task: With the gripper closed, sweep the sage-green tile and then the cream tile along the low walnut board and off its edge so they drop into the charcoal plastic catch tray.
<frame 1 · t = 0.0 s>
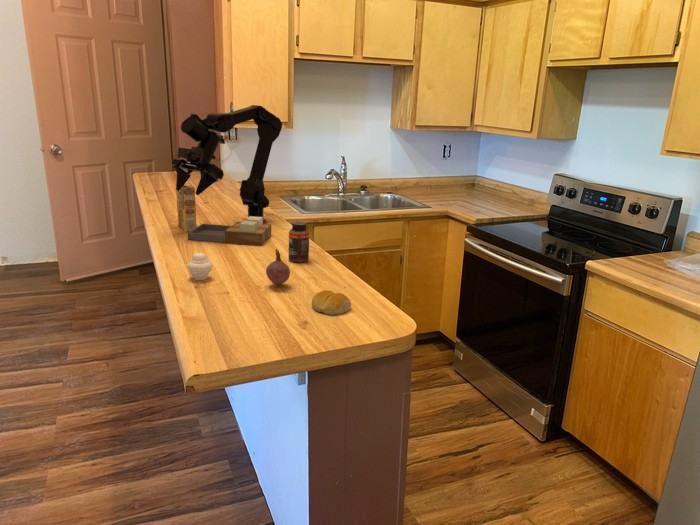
hand: (186, 192, 171), 15 cm above the table, tool tilted 35°, fingers open, 9 cm apart
white lidded jar: (200, 279, 139), on the table
bread roll: (331, 309, 125), on the table
cream tile: (254, 225, 179), point 4 cm above the table, touching walnut board
vegetable: (278, 287, 137), on the table
walnut board: (248, 239, 177), on the table
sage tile: (248, 230, 172), point 4 cm above the table, touching walnut board
supplement bottle: (298, 260, 159), on the table
catch tray: (212, 236, 178), on the table
candy box: (187, 229, 186), on the table
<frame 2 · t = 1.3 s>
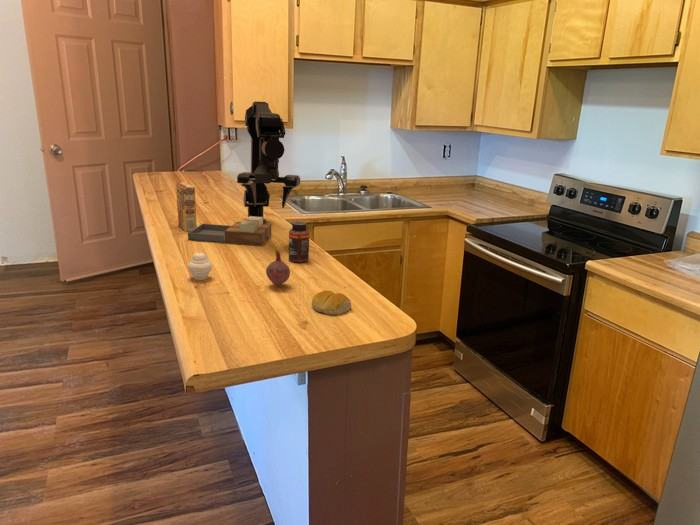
hand: (268, 206, 169), 12 cm above the table, tool pointing down, fingers open, 9 cm apart
nothing on the table moved.
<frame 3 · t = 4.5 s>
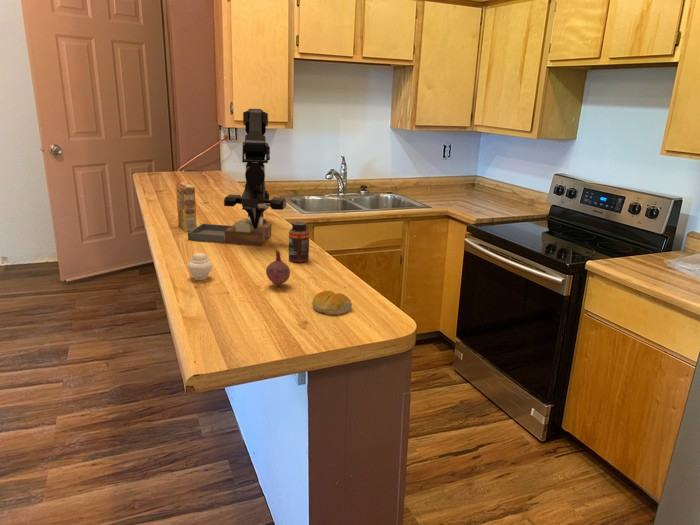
hand: (255, 228, 172), 5 cm above the table, tool pointing down, fingers closed
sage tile: (244, 230, 172), point 4 cm above the table, touching walnut board
everything else where it was.
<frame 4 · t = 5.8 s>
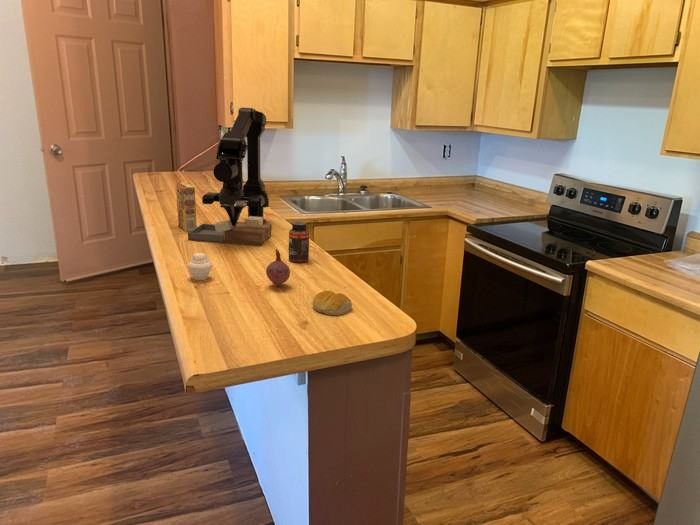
hand: (234, 226, 172), 5 cm above the table, tool pointing down, fingers closed
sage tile: (224, 229, 172), point 4 cm above the table, tilted 15°, touching walnut board
everything else where it was.
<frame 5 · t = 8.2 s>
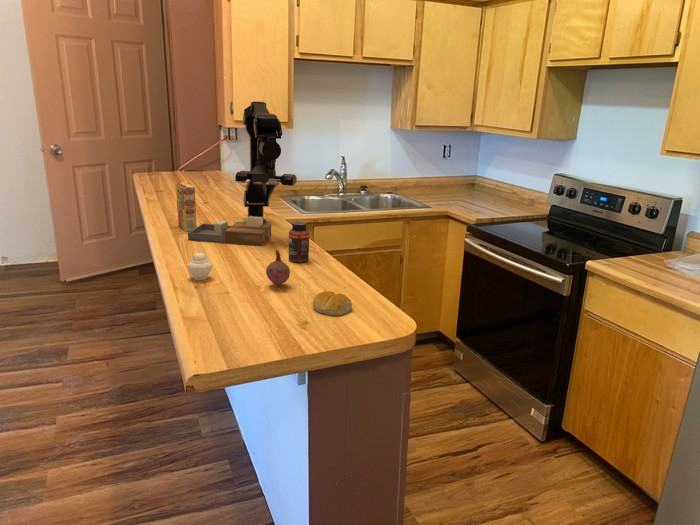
hand: (266, 204, 174), 12 cm above the table, tool pointing down, fingers closed
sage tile: (224, 229, 177), point 3 cm above the table, tilted 90°, touching catch tray
everything else where it was.
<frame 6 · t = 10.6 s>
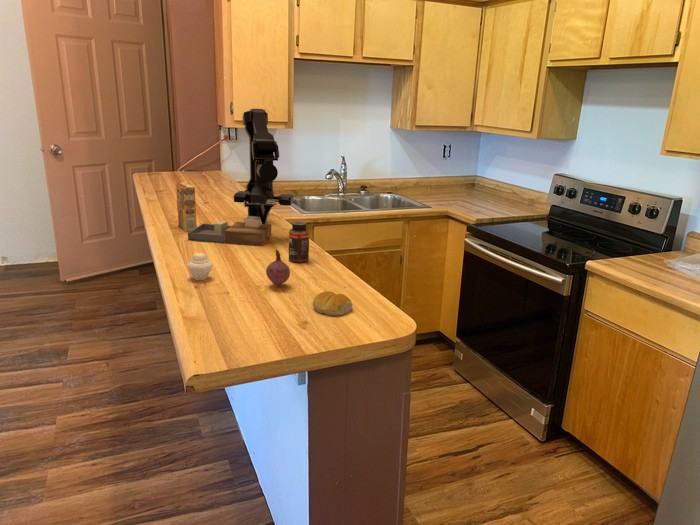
hand: (263, 223, 179), 5 cm above the table, tool pointing down, fingers closed
cream tile: (253, 225, 179), point 4 cm above the table, touching gripper, walnut board
everything else where it was.
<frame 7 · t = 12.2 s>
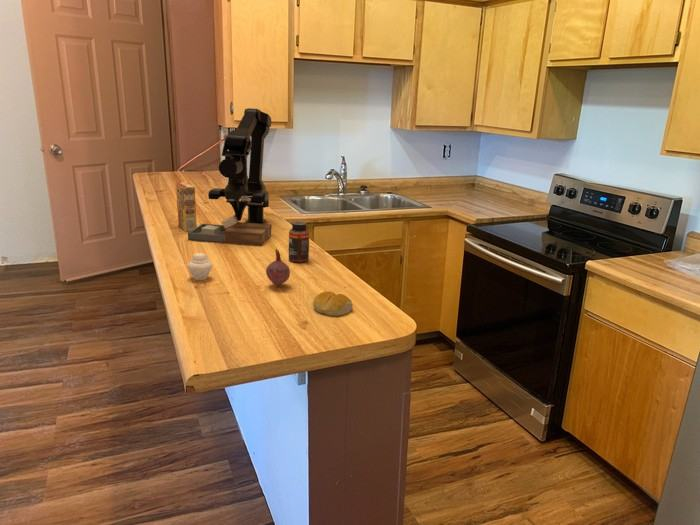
hand: (239, 220, 179), 5 cm above the table, tool pointing down, fingers closed
cream tile: (233, 224, 179), point 4 cm above the table, tilted 30°, touching walnut board
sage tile: (211, 227, 178), point 3 cm above the table, tilted 180°, touching catch tray
everything else where it was.
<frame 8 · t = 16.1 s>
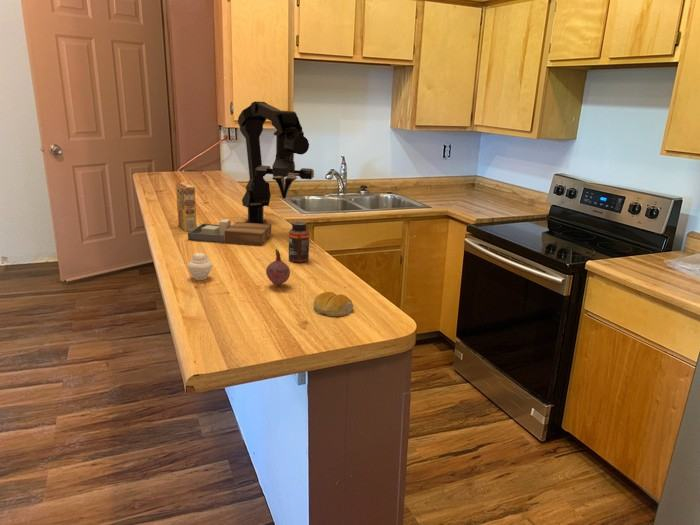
hand: (284, 198, 180), 13 cm above the table, tool pointing down, fingers closed
cream tile: (228, 227, 180), point 3 cm above the table, tilted 90°, touching catch tray
at the end: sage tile inside the target area on the catch tray (0.8 cm from its centre), point 3.0 cm above the catch tray's base; cream tile inside the target area on the catch tray (5.6 cm from its centre), point 2.7 cm above the catch tray's base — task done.
